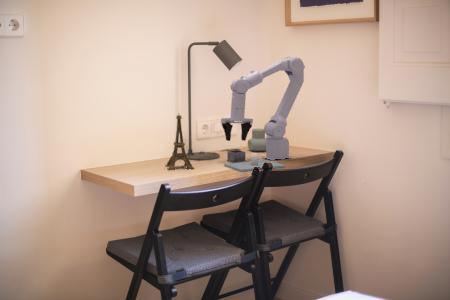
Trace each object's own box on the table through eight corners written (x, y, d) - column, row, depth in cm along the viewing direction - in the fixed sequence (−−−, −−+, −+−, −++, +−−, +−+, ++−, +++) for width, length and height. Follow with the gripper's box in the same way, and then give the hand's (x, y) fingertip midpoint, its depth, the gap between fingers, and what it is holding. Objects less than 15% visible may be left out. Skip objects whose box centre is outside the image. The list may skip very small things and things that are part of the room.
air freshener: (246, 149, 315) (246, 128, 313) (263, 148, 316) (263, 127, 315) (253, 153, 304) (253, 131, 302) (270, 152, 306) (270, 130, 304)
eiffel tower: (168, 170, 263) (166, 106, 259) (165, 165, 273) (164, 104, 270) (194, 169, 265) (194, 106, 261) (190, 164, 276) (190, 103, 272)
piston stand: (266, 161, 281) (266, 149, 280) (284, 167, 269) (285, 154, 268) (224, 166, 272) (224, 153, 271) (241, 171, 260) (241, 158, 259)
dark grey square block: (238, 159, 287) (238, 150, 287) (245, 161, 282) (245, 152, 282) (227, 160, 285) (227, 151, 284) (233, 162, 280) (233, 153, 279)
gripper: (247, 107, 287) (245, 139, 289) (218, 106, 280) (216, 139, 282) (256, 109, 281) (254, 141, 283) (227, 108, 274) (224, 141, 276)
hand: (235, 140), depth 282 cm, fingers open, 7 cm apart
